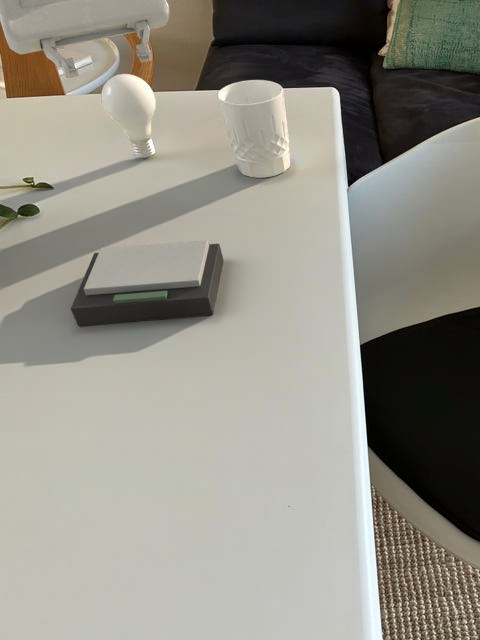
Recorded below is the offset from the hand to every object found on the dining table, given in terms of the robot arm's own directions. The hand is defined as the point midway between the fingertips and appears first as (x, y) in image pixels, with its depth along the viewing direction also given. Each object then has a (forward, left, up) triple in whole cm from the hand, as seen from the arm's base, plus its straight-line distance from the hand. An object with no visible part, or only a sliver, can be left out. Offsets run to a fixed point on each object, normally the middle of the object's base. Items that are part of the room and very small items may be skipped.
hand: (110, 67), depth 101 cm
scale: (+9, -37, -10) cm, 39 cm away
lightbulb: (+3, -5, -11) cm, 12 cm away
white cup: (+19, -10, -11) cm, 24 cm away
